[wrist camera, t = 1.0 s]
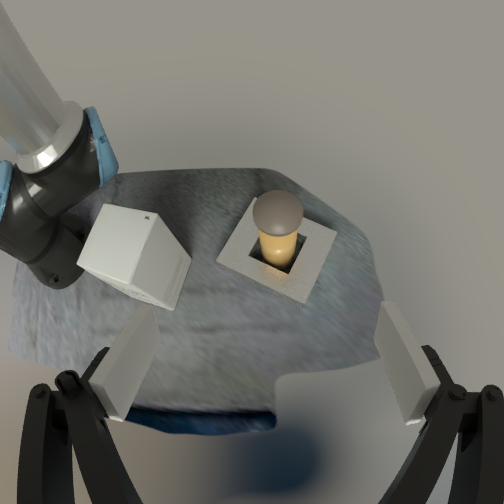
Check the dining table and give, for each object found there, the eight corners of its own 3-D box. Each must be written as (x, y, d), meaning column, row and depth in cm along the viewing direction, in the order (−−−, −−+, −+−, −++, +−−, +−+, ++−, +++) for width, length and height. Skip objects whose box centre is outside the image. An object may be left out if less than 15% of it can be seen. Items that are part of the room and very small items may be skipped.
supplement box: (146, 246, 47) (103, 200, 34) (193, 258, 46) (159, 210, 32) (127, 296, 44) (73, 263, 30) (174, 312, 43) (128, 284, 29)
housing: (219, 267, 45) (215, 260, 42) (256, 207, 48) (254, 197, 46) (302, 308, 41) (304, 304, 38) (334, 240, 45) (337, 232, 42)
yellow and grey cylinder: (252, 262, 45) (243, 221, 33) (269, 231, 46) (266, 183, 34) (286, 278, 43) (290, 241, 31) (303, 246, 45) (311, 201, 33)
